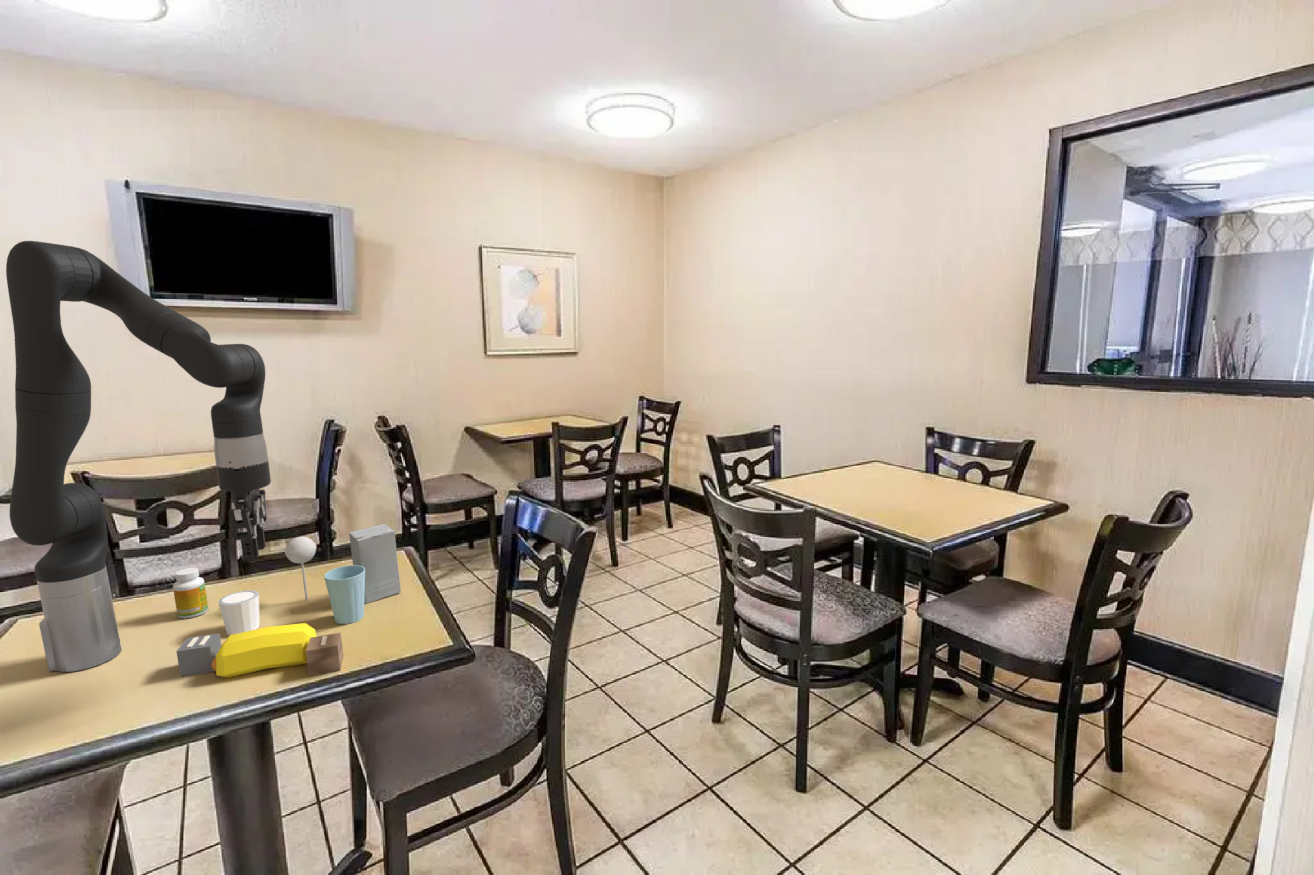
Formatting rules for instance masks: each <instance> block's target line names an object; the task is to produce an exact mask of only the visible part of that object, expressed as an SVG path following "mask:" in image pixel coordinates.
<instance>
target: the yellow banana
mask: <svg viewBox="0 0 1314 875" xmlns="http://www.w3.org/2000/svg"><path fill="white" fill-rule="evenodd" d="M311 637H317V633H316V629H315V628H313V627H312V626H310V625H309V624H307V622H304V623H295V624H294V623H293V624H283V625H273V626H272V625H271V626H265V627H261V628H257V629H256V630H251V631H247V632H242V633H238V634H233V635H228V637H227V638H226V639H225V641H224V642H223V643H221V647H220V649H219V651H218V653H217V654H216V658H214V659H213V661H212V664H211V666H212V668H213V670H214V672H215V673H216V676H218V677H222V678H233V677H236V676H240V675H246V674H251V673H255V672H259V671H263V670H266V669H267V670H268V669H274V668H284V667H292V666H297V665H304V664H306V665H307V656H306V649H307V646H308V643H309V640H310V638H311Z"/></svg>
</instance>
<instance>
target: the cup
mask: <svg viewBox="0 0 1314 875" xmlns="http://www.w3.org/2000/svg"><path fill="white" fill-rule="evenodd" d="M323 577H324V582H325V586H326V590H327V593H328V598H329V601H330V606H331V610H332V614H333V618H334V621H335V623H336V624H339V625H348V624H349V623H350V624H354V623H356V622H358V621H360V620H361V619H363V618H364V617H365V603H364V595H365V568H364V567H362V566H358V565H353V564H352V565H344V566H339V567H335V568H332V569H330V570H329V571H327V572H325V573H324V575H323Z"/></svg>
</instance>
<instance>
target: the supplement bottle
mask: <svg viewBox="0 0 1314 875" xmlns="http://www.w3.org/2000/svg"><path fill="white" fill-rule="evenodd" d="M174 576H175V583H174V584H173V586H172V589H173V590H172V591H173V596H174V602H175V608H176V609H175V610H176V614H177V617H178V618H179V619H192V618H195V617H199V616H201V615H203V614H206V613H207V612H208V611H209V604H208V598H207V590H206V585H205V580H204V578H203V577H200V570H199V568H197V567H189V568H188V567H187V568H183V569H180V570H178V571H176V572H175V573H174Z"/></svg>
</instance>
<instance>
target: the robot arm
mask: <svg viewBox="0 0 1314 875" xmlns="http://www.w3.org/2000/svg"><path fill="white" fill-rule="evenodd" d="M5 266H6V267H5V273H6V274H5V275H6V276H5V277H6V284H7V290H8V299H9V304H10V311H11V318H12V324H13V325H12V326H13V334H14V351H15V352H14V353H15V354H14V356H15V383H14V390H15V392H14V394H15V395H14V397H15V398H14V401H15V406H14V407H15V418H16V432H15V434H16V435H15V436H16V438H15V439H16V440H15V463H14V471H13V472H14V473H13V480H12V487H11V495H10V502H9V520H10V525H11V528H12V530H13V532H14V534H15V535H16V536H17V537H18V538H19V540H21V541H22V542H24V543H26V544H27V545H32V546H46V545H50V544H51V546H50V548H49V549H48V551H47V552H46V553H45V554H44V556H42V557H41V558H40V559H39V560H38V561H37V562H36V563H35V565H34V574H35V578H36V583H37V590H38V592H39V598H40V602H41V607H42V612H43V616H44V618H43V619H42V620H41V621H40V622H39V624H38V626H39V632H40V635H41V640H42V645H43V650H44V654H45V658H46V664H47V670H48V672H54V671H55V672H56V671H57V672H61V673H62V672H63V673H69V672H76V671H82V670H87V669H90V668H93V667H97V666H100V665H102V664H104V663H107V662H108V661H110V660H112V659H114V658H116V657H117V656H118V655H120V653H121V651H122V646H121V638H120V635H119V627H118V623H117V617H116V614H115V612H116V611H115V608H114V607H115V606H114V603H113V602H114V601H113V596H112V590H111V586H110V580H109V574H108V569H107V563H106V556H107V553H108V551H109V550H108V549H109V540H108V530H107V529H108V528H107V522H106V513H105V508H104V505H103V502H102V499H101V498H100V496H99V494H98V493H97V492H96V491H95V490H94V489H93V488H91V487H90V486H88V485H87V484H85V483H80V482H69V483H65V475H66V474H65V472H66V468H67V464H68V462H69V460H70V458H71V455H72V454H73V452H74V450H75V449H76V447H77V445H78V443H79V441H80V439H81V438H82V436H83V435H84V433H85V431H86V429H87V427H88V424H89V422H90V419H91V412H92V383H91V378H90V375H89V373H88V371H87V370H86V367H85V366H84V364H82V362H81V360H80V358H78V356H77V354H75V352H74V350H73V349H72V348H71V346H70V344H69V343H68V342H67V340H66V337H65V335H64V333H63V332H64V331H63V328H62V320H61V319H62V318H61V302H71V303H72V302H73V303H75V302H78V303H79V302H84V303H88V304H91V305H94V306H97V307H99V308H101V309H105V311H109V312H111V313H113V314H114V315H116V316H117V317H119V318H120V320H121V321H122V322H123V324H124V326H125V327H126V329H127V330H128V331H129V332H130V333H131V335H133V336H134V337H135V338H136V339H138V340H139V341H140V342H142V343H144V344H145V345H147V346H149V347H151V348H153V350H156V351H158V352H160V353H161V354H163V355H165V356H167V357H169V358H170V359H173V360H174V361H175V362H176V363H177V364H178V365H179V367H181V368H182V370H184V371H185V372H186V373H187V375H189V376H190V377H192V378H193V379H195V380H196V382H198V383H201V384H203V385H204V386H205V385H206V386H208V387H211V388H215V389H216V388H218V389H220V388H225V393H224V397H223V398H222V399H221V400H220V401H218V402H216V403H214V404H213V405H212V406H211V409H210V418H211V425H212V432H213V433H212V434H213V440H214V441H213V453H214V459H215V468H216V474H217V481H218V487H219V488H218V489H219V490H220V491H222V492H225V493H226V492H227V493H229V492H230V493H233V500H231V509H228V515H229V520H230V523H231V524H230V525H231V528H232V529H231V530H232V533H233V538H234V539H235V541H240V544H241V545H240V546H241V552H242V558H243V560H244V561H253V560H254V561H255V560H257V559H258V558H259V556H260V553H259V551H260V550H261V551H262V550H264V549H265V548H266V546H267V545H266V539H265V532H264V529H265V526H266V524H265V522H266V523H267V506H266V490H265V489H263V488H265V487H268V486H270V484H271V482H272V480H271V479H272V478H271V472H270V464H269V456H268V449H267V448H268V447H267V443H266V439H265V436H264V430H263V420H262V415H261V406H262V401H263V395H264V389H265V381H266V366H265V362H264V359H263V357H262V355H261V354H260V353H259V351H258V350H257V349H256V348H254V347H253V346H252V345H249V344H245V343H231V344H228V343H227V344H217V343H214V342H212V341H211V339H212V338H211V335H210V333H209V332H208V330H207V329H206V328H205V327H203V326H202V325H201V324H199V323H197V322H196V321H194V320H192V319H190V318H189V317H186V316H184V315H183V314H181V313H179V312H178V311H176V310H173V308H171V307H169V306H167V305H165V304H163V303H162V302H159V301H158V300H157V299H154V298H153V297H151V296H150V295H148V294H147V293H145V292H144V291H142V290H141V289H140V288H138V287H137V286H136V285H135V284H134V283H132V282H131V281H129V280H128V279H127V278H125V277H123V276H122V275H121V274H120V273H118V272H117V271H116V270H114V269H113V268H112V267H111V266H110V265H108V264H107V263H106V262H104V261H103V259H101V258H99V257H98V256H96V255H95V254H94V253H91V252H90V251H87V249H83V248H80V247H77V246H71V245H64V244H58V243H51V242H43V241H37V240H35V241H34V240H24V241H20V242H18V243H15V245H13V247H12V248H10V251H9V253H8V255H7V258H6V265H5ZM244 529H246V531H244Z"/></svg>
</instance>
